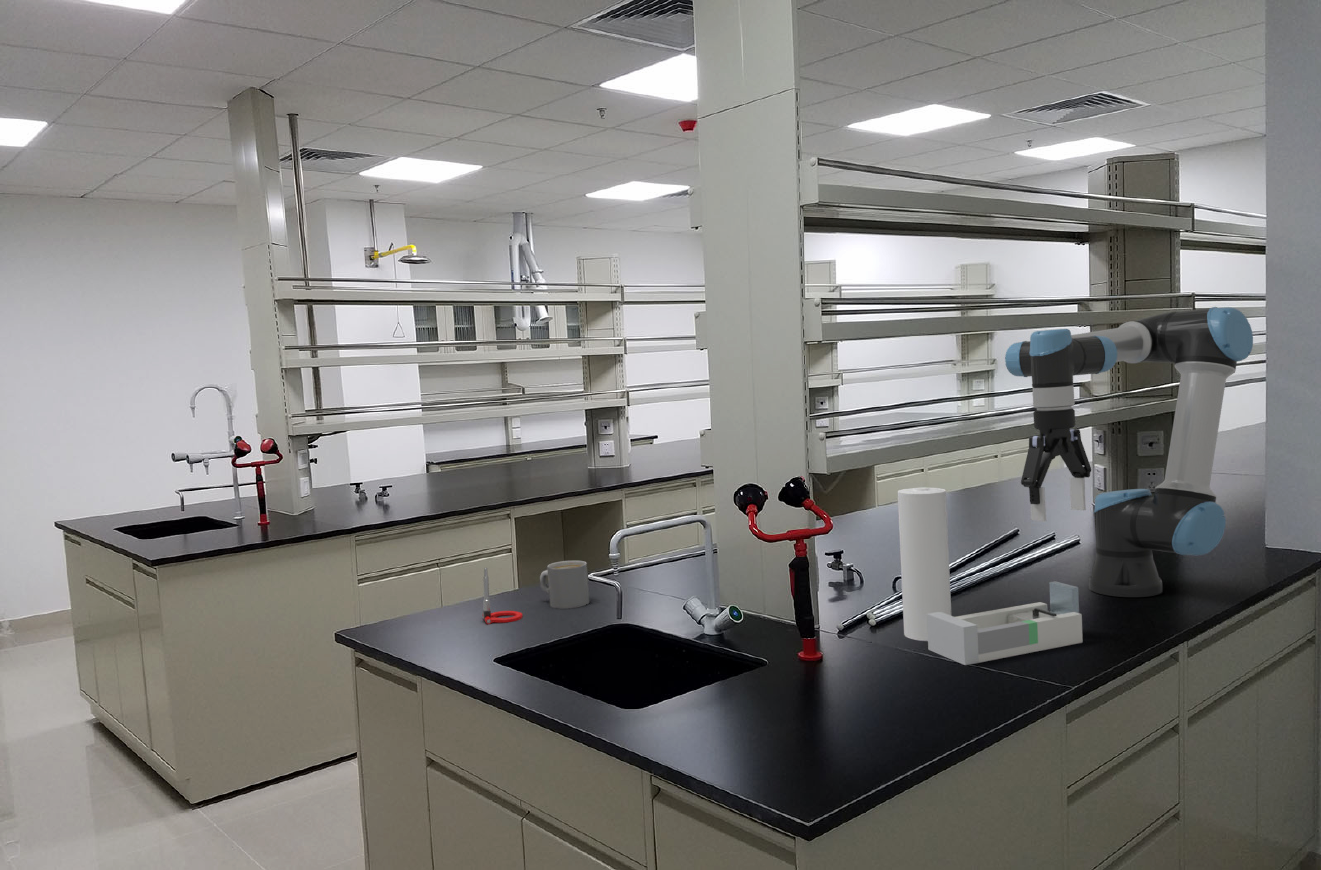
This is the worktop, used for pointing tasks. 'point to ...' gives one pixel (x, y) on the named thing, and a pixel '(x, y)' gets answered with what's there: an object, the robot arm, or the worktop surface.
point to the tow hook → (490, 616)
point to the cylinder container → (923, 557)
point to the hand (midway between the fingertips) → (1058, 515)
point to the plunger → (1053, 603)
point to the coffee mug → (566, 584)
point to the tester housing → (1000, 634)
